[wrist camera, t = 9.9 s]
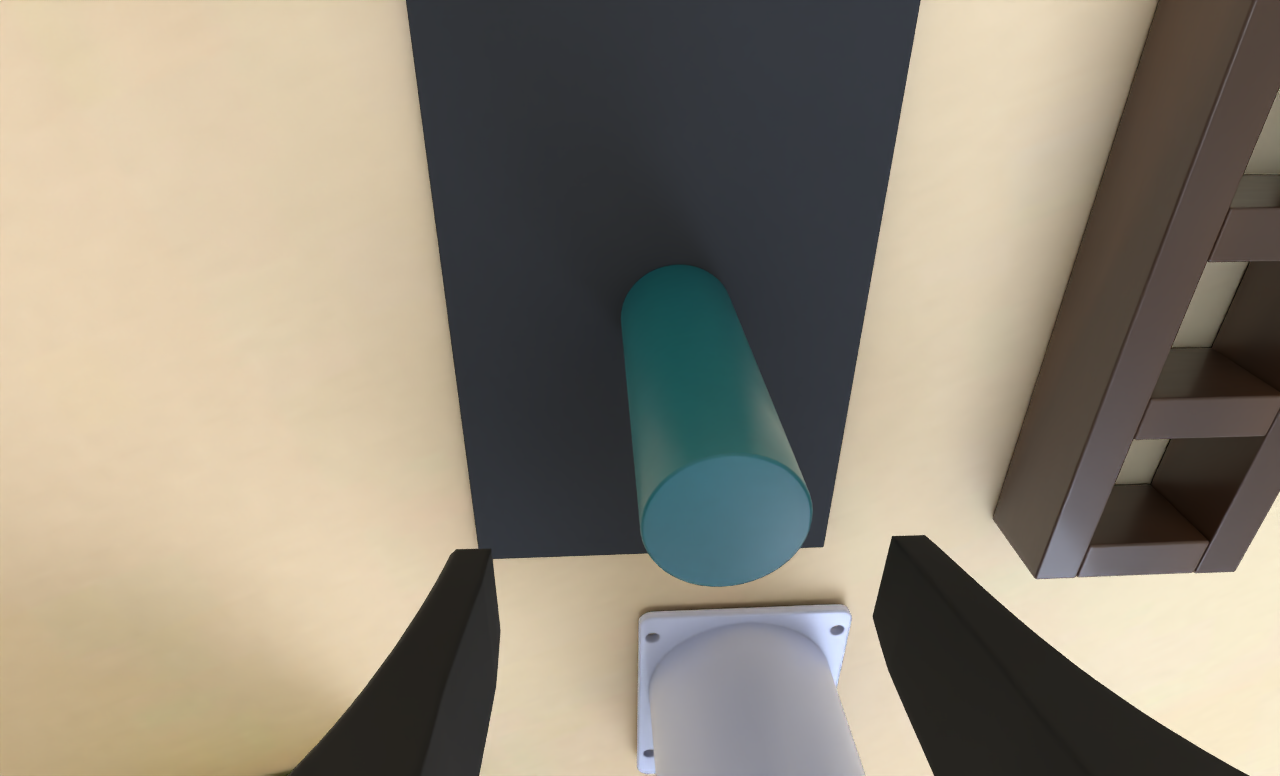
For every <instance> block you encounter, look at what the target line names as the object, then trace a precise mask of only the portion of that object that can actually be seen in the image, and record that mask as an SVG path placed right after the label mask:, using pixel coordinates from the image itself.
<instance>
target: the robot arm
mask: <svg viewBox="0 0 1280 776" xmlns="http://www.w3.org/2000/svg"><path fill="white" fill-rule="evenodd" d="M851 620H852V616H851V613H850V611H849V609H848V607H847V606H845V605H841V604H828V605H803V606H778V607H754V608H729V609H704V610H680V611H655V612H647V613H645V614H643V615H642V616H641V617H640V619H639V633H638V714H637V768H638V770H639V771H640V772H642V773H644V774H656V776H866V775H865V772H864V769H863V766H862V763H861V760H860V757H859V754H858V751H857V748H856V745H855V742H854V739H853V736H852V733H851V730H850V727H849V724H848V721H847V718H846V715H845V712H844V709H843V706H842V703H841V700H840V697H839V694H838V692H837V685H838V680H839V676H840V671H841V666H842V662H843V657H844V652H845V648H846V643H847V639H848V634H849V629H850V625H851ZM873 620H874V624H875V627H876V631H877V634H878V638H879V641H880V645H881V648H882V652H883V655H884V658H885V661H886V664H887V668H888V671H889V673H890V675H891V678H892V680H893V683H894V685H895V687H896V690H897V692H898V694H899V697H900V699H901V701H902V703H903V706H904V708H905V710H906V713H907V715H908V717H909V719H910V722H911V724H912V726H913V729H914V731H915V733H916V735H917V738H918V740H919V742H920V744H921V747H922V749H923V751H924V753H925V756H926V758H927V760H928V763H929V765H930V767H931V769H932V772H933V774H934V776H1249V775H1247V774H1245V773H1243V772H1241V771H1239V770H1238V769H1236V768H1234V767H1232V766H1231V765H1229V764H1227V763H1225V762H1223V761H1222V760H1220V759H1218V758H1216V757H1215V756H1213V755H1211V754H1209V753H1208V752H1206V751H1204V750H1203V749H1201V748H1199V747H1198V746H1196V745H1194V744H1193V743H1191V742H1189V741H1188V740H1186V739H1184V738H1183V737H1181V736H1180V735H1178V734H1176V733H1175V732H1173V731H1171V730H1170V729H1168V728H1166V727H1165V726H1163V725H1162V724H1160V723H1158V722H1157V721H1155V720H1154V719H1152V718H1151V717H1149V716H1148V715H1146V714H1144V713H1143V712H1141V711H1140V710H1138V709H1137V708H1135V707H1134V706H1132V705H1131V704H1129V703H1128V702H1127V701H1125V700H1124V699H1122V698H1121V697H1119V696H1118V695H1117V694H1115V693H1114V692H1112V691H1111V690H1109V689H1108V688H1106V687H1105V686H1104V685H1102V684H1101V683H1099V682H1098V681H1096V680H1095V679H1094V678H1092V677H1091V676H1090V675H1088V674H1087V673H1086V672H1084V671H1083V670H1081V669H1080V668H1079V667H1077V666H1076V665H1075V664H1074V663H1072V662H1071V661H1070V660H1068V659H1067V658H1066V657H1065V656H1063V655H1062V654H1061V653H1060V652H1058V651H1057V650H1056V649H1055V648H1053V647H1052V646H1051V645H1049V644H1048V643H1047V642H1046V641H1044V640H1043V639H1042V638H1041V637H1039V636H1038V635H1037V634H1036V633H1035V632H1033V631H1032V630H1031V629H1030V628H1029V627H1027V626H1026V625H1025V624H1024V623H1023V622H1021V621H1020V620H1019V619H1018V618H1017V617H1016V616H1014V615H1013V614H1012V613H1011V612H1010V611H1009V610H1008V609H1006V608H1005V607H1004V606H1003V605H1002V604H1001V603H1000V602H998V601H997V600H996V599H995V598H994V597H993V596H992V595H991V594H989V593H988V592H987V591H986V590H985V589H984V588H983V587H982V586H981V585H979V584H978V583H977V582H976V581H975V580H974V579H973V578H972V577H971V576H969V575H968V574H967V573H966V572H965V571H964V570H963V569H962V568H961V567H960V566H959V565H957V564H956V563H955V562H954V561H953V560H952V559H951V558H950V557H949V556H948V555H947V554H945V553H944V552H943V551H942V550H941V549H940V548H939V547H938V546H937V545H936V544H934V543H933V542H932V541H931V540H930V539H929V538H928V537H926V536H925V535H917V536H892V539H891V543H890V547H889V551H888V555H887V559H886V563H885V567H884V572H883V576H882V580H881V584H880V588H879V592H878V596H877V600H876V605H875V609H874V613H873ZM836 625H837V626H836ZM650 633H655V634H650ZM499 643H500V622H499V613H498V604H497V595H496V586H495V577H494V568H493V559H492V551H491V548H488V549H456V550H455V551H454V552H453V553H452V554H451V555H450V557H449V559H448V561H447V563H446V564H445V566H444V568H443V570H442V572H441V574H440V576H439V577H438V579H437V581H436V583H435V585H434V586H433V588H432V590H431V591H430V593H429V595H428V596H427V598H426V600H425V601H424V603H423V605H422V606H421V608H420V610H419V611H418V613H417V614H416V616H415V617H414V619H413V620H412V622H411V623H410V625H409V626H408V628H407V629H406V631H405V632H404V634H403V635H402V637H401V639H400V640H399V642H398V643H397V644H396V646H395V647H394V649H393V650H392V652H391V653H390V654H389V656H388V657H387V658H386V660H385V661H384V663H383V664H382V665H381V667H380V668H379V669H378V671H377V672H376V673H375V675H374V676H373V677H372V679H371V680H370V681H369V683H368V684H367V686H366V687H365V688H364V689H363V691H362V692H361V693H360V695H359V696H358V697H357V698H356V699H355V701H354V702H353V703H352V704H351V706H350V707H349V708H348V709H347V711H346V712H345V713H344V714H343V715H342V717H341V718H340V719H339V720H338V721H337V722H336V724H335V725H334V726H333V727H332V728H331V729H330V730H329V732H328V733H327V734H326V735H325V736H324V737H323V738H322V740H321V741H320V742H319V743H318V744H317V745H316V746H315V747H314V748H313V749H312V750H311V751H310V752H309V754H308V755H307V756H306V757H305V758H304V759H303V760H302V761H301V762H300V763H299V764H298V765H297V766H296V767H295V768H294V769H293V771H292V772H291V773H290V774H289V775H288V776H479V773H480V768H481V763H482V758H483V753H484V747H485V742H486V737H487V732H488V726H489V721H490V716H491V711H492V705H493V700H494V694H495V689H496V681H497V669H498V657H499Z"/></svg>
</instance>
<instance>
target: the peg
mask: <svg viewBox="0 0 1280 776" xmlns="http://www.w3.org/2000/svg"><path fill="white" fill-rule="evenodd" d="M621 327H622V338H623V349H624V359H625V370H626V381H627V392H628V402H629V413H630V424H631V435H632V446H633V456H634V467H635V478H636V489H637V500H638V510H639V521H640V532H641V537H642V541H643V544H644V546H645V549H646V551H647V552H648V554H649V555H650V557H651V558H652V559H653V560H654V562H655V563H656V564H657V565H658V566H659V567H660V568H662V569H663V570H664V571H665V572H667V573H669V574H670V575H672V576H674V577H676V578H678V579H680V580H682V581H685V582H688V583H692V584H696V585H701V586H711V587H723V586H733V585H739V584H744V583H747V582H751V581H754V580H756V579H759V578H762V577H764V576H766V575H768V574H770V573H772V572H773V571H775V570H777V569H778V568H780V567H781V566H782V565H784V564H785V563H786V562H787V561H789V560H790V559H791V558H792V557H793V556H794V555H795V554H796V552H797V551H798V550H799V549H800V547H801V546H802V544H803V543H804V541H805V539H806V537H807V535H808V532H809V530H810V526H811V522H812V514H813V508H812V500H811V497H810V493H809V491H808V488H807V486H806V483H805V481H804V478H803V476H802V474H801V471H800V469H799V466H798V464H797V461H796V459H795V456H794V454H793V451H792V449H791V447H790V444H789V442H788V439H787V437H786V434H785V432H784V429H783V427H782V424H781V422H780V420H779V417H778V415H777V412H776V410H775V407H774V405H773V402H772V400H771V397H770V395H769V393H768V390H767V388H766V385H765V383H764V380H763V378H762V375H761V373H760V371H759V368H758V366H757V363H756V361H755V358H754V356H753V353H752V351H751V348H750V346H749V344H748V341H747V339H746V336H745V334H744V331H743V329H742V326H741V324H740V321H739V319H738V317H737V314H736V312H735V309H734V307H733V304H732V302H731V299H730V297H729V295H728V293H727V290H726V289H725V287H724V286H723V284H722V283H721V282H720V281H719V280H718V279H717V278H716V277H715V276H713V275H712V274H710V273H709V272H707V271H705V270H703V269H701V268H698V267H694V266H690V265H669V266H664V267H661V268H658V269H656V270H653V271H651V272H649V273H648V274H646V275H645V276H643V277H642V278H641V279H639V280H638V281H637V282H636V283H635V284H634V285H633V287H632V288H631V289H630V291H629V292H628V294H627V296H626V298H625V300H624V303H623V306H622V311H621Z"/></svg>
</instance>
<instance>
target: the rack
mask: <svg viewBox="0 0 1280 776" xmlns="http://www.w3.org/2000/svg"><path fill="white" fill-rule="evenodd" d="M1279 87H1280V0H1159V3H1158V6H1157V10H1156V13H1155V16H1154V19H1153V22H1152V25H1151V28H1150V31H1149V34H1148V38H1147V41H1146V44H1145V47H1144V50H1143V53H1142V56H1141V59H1140V62H1139V66H1138V69H1137V72H1136V75H1135V78H1134V81H1133V84H1132V87H1131V90H1130V94H1129V97H1128V100H1127V103H1126V106H1125V109H1124V112H1123V115H1122V118H1121V121H1120V125H1119V128H1118V131H1117V134H1116V137H1115V140H1114V143H1113V146H1112V149H1111V153H1110V156H1109V159H1108V162H1107V165H1106V168H1105V171H1104V174H1103V177H1102V181H1101V184H1100V187H1099V190H1098V193H1097V196H1096V199H1095V202H1094V205H1093V209H1092V212H1091V215H1090V218H1089V221H1088V224H1087V227H1086V230H1085V233H1084V237H1083V240H1082V243H1081V246H1080V249H1079V252H1078V255H1077V258H1076V261H1075V265H1074V268H1073V271H1072V274H1071V277H1070V280H1069V283H1068V286H1067V289H1066V293H1065V296H1064V299H1063V302H1062V305H1061V308H1060V311H1059V314H1058V317H1057V320H1056V324H1055V327H1054V330H1053V333H1052V336H1051V339H1050V342H1049V345H1048V348H1047V352H1046V355H1045V358H1044V361H1043V364H1042V367H1041V370H1040V373H1039V376H1038V380H1037V383H1036V386H1035V389H1034V392H1033V395H1032V398H1031V401H1030V404H1029V408H1028V411H1027V414H1026V417H1025V420H1024V423H1023V426H1022V429H1021V432H1020V436H1019V439H1018V442H1017V445H1016V448H1015V451H1014V454H1013V457H1012V460H1011V464H1010V467H1009V470H1008V473H1007V476H1006V479H1005V482H1004V485H1003V488H1002V492H1001V495H1000V498H999V501H998V504H997V507H996V510H995V513H994V516H993V520H994V522H995V523H996V524H997V526H998V527H999V529H1000V530H1001V531H1002V533H1003V534H1004V536H1005V537H1006V539H1007V540H1008V541H1009V543H1010V544H1011V546H1012V547H1013V548H1014V550H1015V551H1016V553H1017V554H1018V555H1019V557H1020V558H1021V560H1022V561H1023V563H1024V564H1025V565H1026V567H1027V568H1028V570H1029V571H1030V572H1031V574H1032V575H1033V577H1034V578H1035V579H1052V578H1074V577H1076V576H1077V577H1098V576H1123V575H1149V574H1174V573H1192V572H1194V573H1214V572H1234V571H1235V570H1236V569H1237V567H1238V565H1239V563H1240V561H1241V560H1242V558H1243V556H1244V554H1245V552H1246V551H1247V549H1248V547H1249V545H1250V544H1251V542H1252V540H1253V538H1254V536H1255V535H1256V533H1257V531H1258V529H1259V527H1260V526H1261V524H1262V522H1263V520H1264V519H1265V517H1266V515H1267V513H1268V511H1269V510H1270V508H1271V506H1272V504H1273V502H1274V501H1275V499H1276V497H1277V495H1278V494H1279V492H1280V175H1243V174H1244V171H1245V169H1246V167H1247V164H1248V162H1249V159H1250V157H1251V155H1252V152H1253V150H1254V147H1255V145H1256V143H1257V140H1258V138H1259V135H1260V133H1261V131H1262V128H1263V126H1264V123H1265V121H1266V119H1267V116H1268V114H1269V111H1270V109H1271V106H1272V104H1273V102H1274V99H1275V97H1276V94H1277V92H1278V90H1279ZM1207 261H1208V262H1246V261H1250V263H1249V266H1248V268H1247V270H1246V272H1245V275H1244V277H1243V279H1242V281H1241V284H1240V286H1239V288H1238V290H1237V293H1236V295H1235V297H1234V299H1233V301H1232V304H1231V306H1230V308H1229V310H1228V313H1227V315H1226V317H1225V319H1224V322H1223V324H1222V326H1221V328H1220V331H1219V333H1218V335H1217V337H1216V340H1215V342H1214V344H1213V346H1212V348H1175V349H1171V347H1172V345H1173V342H1174V340H1175V337H1176V335H1177V333H1178V330H1179V328H1180V325H1181V323H1182V321H1183V318H1184V316H1185V313H1186V311H1187V309H1188V306H1189V304H1190V301H1191V299H1192V297H1193V294H1194V292H1195V289H1196V287H1197V285H1198V282H1199V280H1200V277H1201V275H1202V272H1203V270H1204V268H1205V265H1206V263H1207ZM1133 439H1136V440H1141V439H1171V440H1170V443H1169V445H1168V447H1167V449H1166V451H1165V454H1164V456H1163V458H1162V460H1161V463H1160V465H1159V467H1158V469H1157V472H1156V474H1155V476H1154V478H1153V481H1152V483H1151V485H1148V484H1147V485H1115V486H1114V484H1115V482H1116V479H1117V477H1118V475H1119V472H1120V470H1121V467H1122V465H1123V463H1124V460H1125V458H1126V455H1127V453H1128V450H1129V448H1130V446H1131V443H1132V441H1133Z"/></svg>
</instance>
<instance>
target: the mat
mask: <svg viewBox="0 0 1280 776" xmlns="http://www.w3.org/2000/svg"><path fill="white" fill-rule="evenodd" d="M406 4H407V12H408V19H409V27H410V34H411V42H412V49H413V57H414V64H415V72H416V80H417V87H418V95H419V102H420V110H421V117H422V125H423V132H424V140H425V148H426V155H427V163H428V170H429V178H430V185H431V193H432V200H433V208H434V216H435V223H436V231H437V238H438V246H439V253H440V261H441V268H442V276H443V283H444V291H445V299H446V306H447V314H448V321H449V329H450V336H451V344H452V351H453V359H454V367H455V374H456V382H457V389H458V397H459V404H460V412H461V419H462V427H463V434H464V442H465V450H466V457H467V465H468V472H469V480H470V487H471V495H472V502H473V510H474V518H475V525H476V533H477V540H478V548H479V549H488V548H491V551H492V559H505V558H533V557H561V556H589V555H616V554H644V553H648V552H647V551H646V549H645V546H644V544H643V541H642V537H641V532H640V521H639V510H638V500H637V489H636V478H635V467H634V456H633V446H632V435H631V424H630V413H629V402H628V392H627V381H626V370H625V359H624V349H623V338H622V327H621V311H622V306H623V303H624V300H625V298H626V296H627V294H628V292H629V291H630V289H631V288H632V287H633V285H634V284H635V283H636V282H637V281H638V280H639V279H641V278H642V277H643V276H645V275H646V274H648V273H649V272H651V271H653V270H656V269H658V268H661V267H664V266H669V265H690V266H694V267H698V268H701V269H703V270H705V271H707V272H709V273H710V274H712V275H713V276H715V277H716V278H717V279H718V280H719V281H720V282H721V283H722V284H723V286H724V287H725V289H726V290H727V293H728V295H729V297H730V299H731V302H732V304H733V307H734V309H735V312H736V314H737V317H738V319H739V321H740V324H741V326H742V329H743V331H744V334H745V336H746V339H747V341H748V344H749V346H750V348H751V351H752V353H753V356H754V358H755V361H756V363H757V366H758V368H759V371H760V373H761V375H762V378H763V380H764V383H765V385H766V388H767V390H768V393H769V395H770V397H771V400H772V402H773V405H774V407H775V410H776V412H777V415H778V417H779V420H780V422H781V424H782V427H783V429H784V432H785V434H786V437H787V439H788V442H789V444H790V447H791V449H792V451H793V454H794V456H795V459H796V461H797V464H798V466H799V469H800V471H801V474H802V476H803V478H804V481H805V483H806V486H807V488H808V491H809V493H810V497H811V500H812V508H813V514H812V522H811V526H810V530H809V532H808V535H807V537H806V539H805V541H804V543H803V544H802V546H801V547H800V548H811V547H823V546H824V541H825V535H826V530H827V524H828V518H829V513H830V507H831V501H832V496H833V490H834V485H835V479H836V473H837V468H838V462H839V456H840V451H841V445H842V440H843V434H844V428H845V423H846V417H847V411H848V406H849V400H850V394H851V389H852V383H853V378H854V372H855V366H856V361H857V355H858V349H859V344H860V338H861V333H862V327H863V321H864V316H865V310H866V304H867V299H868V293H869V287H870V282H871V276H872V271H873V265H874V259H875V254H876V248H877V242H878V237H879V231H880V226H881V220H882V214H883V209H884V203H885V197H886V192H887V186H888V180H889V175H890V169H891V164H892V158H893V152H894V147H895V141H896V135H897V130H898V124H899V119H900V113H901V107H902V102H903V96H904V90H905V85H906V79H907V74H908V68H909V62H910V57H911V51H912V45H913V40H914V34H915V28H916V23H917V17H918V12H919V6H920V0H406Z"/></svg>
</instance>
